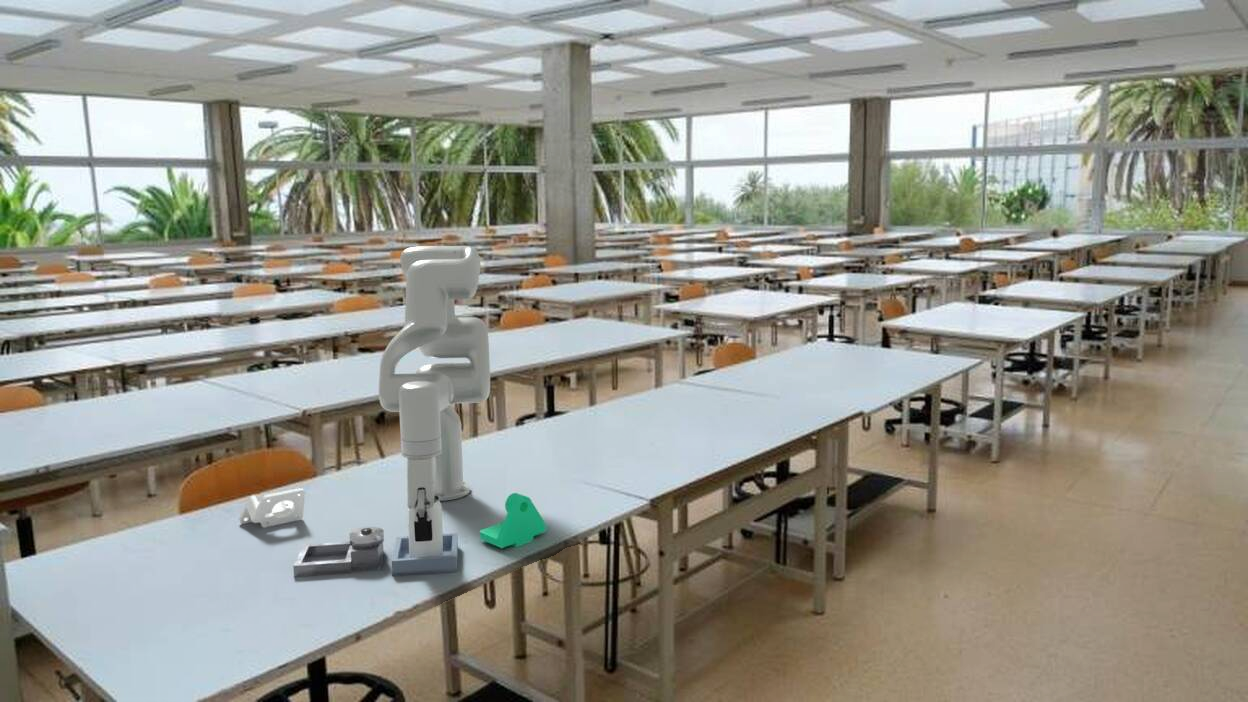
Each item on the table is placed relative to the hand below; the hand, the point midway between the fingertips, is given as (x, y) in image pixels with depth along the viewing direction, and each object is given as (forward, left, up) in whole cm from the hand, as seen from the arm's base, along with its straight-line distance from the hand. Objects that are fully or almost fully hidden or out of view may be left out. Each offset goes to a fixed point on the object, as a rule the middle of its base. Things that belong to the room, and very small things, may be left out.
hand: (425, 531), depth 171 cm
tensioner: (-2, -16, -6) cm, 17 cm away
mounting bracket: (-26, -34, -7) cm, 44 cm away
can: (0, 0, -6) cm, 6 cm away
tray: (0, 0, -6) cm, 6 cm away
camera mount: (-8, +17, -7) cm, 20 cm away
